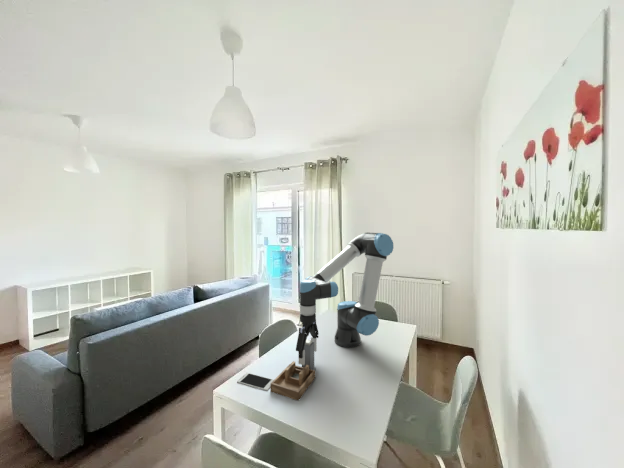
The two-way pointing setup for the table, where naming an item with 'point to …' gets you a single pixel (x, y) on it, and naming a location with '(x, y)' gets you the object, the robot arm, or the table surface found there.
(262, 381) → the smartphone
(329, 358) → the table surface
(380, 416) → the table surface
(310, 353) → the grey rectangular block
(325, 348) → the table surface
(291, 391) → the box
